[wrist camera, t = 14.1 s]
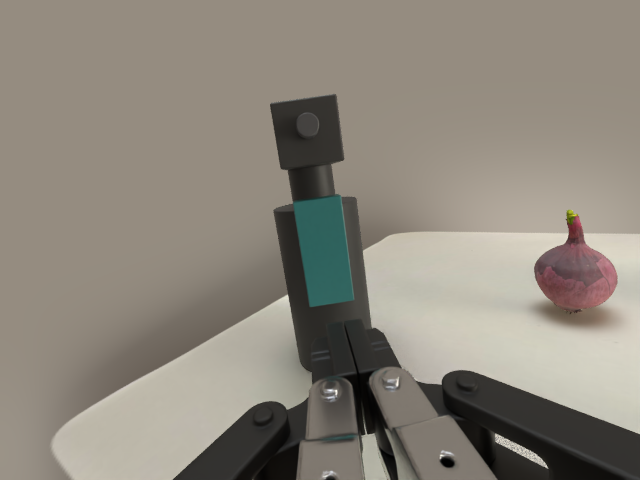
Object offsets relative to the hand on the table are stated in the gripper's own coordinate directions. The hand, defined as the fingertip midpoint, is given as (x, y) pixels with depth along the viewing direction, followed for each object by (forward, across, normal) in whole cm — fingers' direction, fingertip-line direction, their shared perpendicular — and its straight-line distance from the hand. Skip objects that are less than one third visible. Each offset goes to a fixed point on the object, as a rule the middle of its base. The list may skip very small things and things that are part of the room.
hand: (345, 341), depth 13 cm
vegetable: (+15, -23, +10) cm, 29 cm away
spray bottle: (+12, 0, +10) cm, 15 cm away
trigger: (+8, 0, +2) cm, 8 cm away
